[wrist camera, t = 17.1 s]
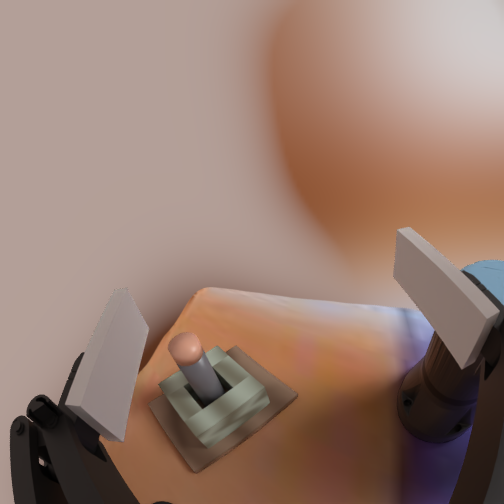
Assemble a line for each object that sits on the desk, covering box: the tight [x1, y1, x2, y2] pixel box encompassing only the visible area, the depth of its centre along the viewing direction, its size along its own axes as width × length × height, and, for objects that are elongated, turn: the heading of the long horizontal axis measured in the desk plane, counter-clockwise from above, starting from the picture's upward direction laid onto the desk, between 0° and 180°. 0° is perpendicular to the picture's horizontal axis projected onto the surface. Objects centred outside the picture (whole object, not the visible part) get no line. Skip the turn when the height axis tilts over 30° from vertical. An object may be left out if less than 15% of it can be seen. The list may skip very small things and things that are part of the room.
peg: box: [168, 332, 226, 407], centre depth 36 cm, size 4×4×15 cm
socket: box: [148, 346, 298, 473], centre depth 38 cm, size 20×16×6 cm
